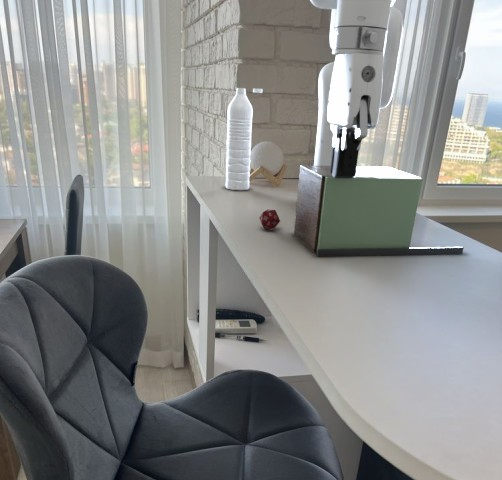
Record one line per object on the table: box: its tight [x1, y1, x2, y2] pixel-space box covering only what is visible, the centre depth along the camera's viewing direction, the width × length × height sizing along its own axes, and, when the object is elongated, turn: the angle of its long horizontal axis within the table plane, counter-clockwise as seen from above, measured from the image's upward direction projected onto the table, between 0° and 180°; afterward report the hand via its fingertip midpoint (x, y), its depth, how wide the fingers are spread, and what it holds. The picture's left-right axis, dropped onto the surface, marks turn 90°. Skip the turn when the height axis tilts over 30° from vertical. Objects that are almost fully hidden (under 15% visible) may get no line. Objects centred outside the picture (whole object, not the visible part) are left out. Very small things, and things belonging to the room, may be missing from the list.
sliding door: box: [317, 137, 424, 249], centre depth 85 cm, size 2×17×19 cm, turn 102°
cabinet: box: [293, 164, 465, 257], centre depth 92 cm, size 14×28×13 cm, turn 102°
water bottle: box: [225, 87, 264, 191], centre depth 134 cm, size 9×6×25 cm
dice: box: [259, 209, 281, 230], centre depth 100 cm, size 4×4×4 cm
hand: (342, 174), depth 82 cm, fingers closed on sliding door
